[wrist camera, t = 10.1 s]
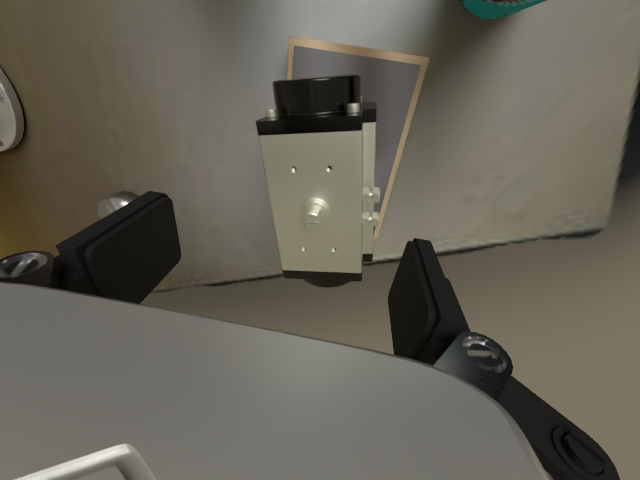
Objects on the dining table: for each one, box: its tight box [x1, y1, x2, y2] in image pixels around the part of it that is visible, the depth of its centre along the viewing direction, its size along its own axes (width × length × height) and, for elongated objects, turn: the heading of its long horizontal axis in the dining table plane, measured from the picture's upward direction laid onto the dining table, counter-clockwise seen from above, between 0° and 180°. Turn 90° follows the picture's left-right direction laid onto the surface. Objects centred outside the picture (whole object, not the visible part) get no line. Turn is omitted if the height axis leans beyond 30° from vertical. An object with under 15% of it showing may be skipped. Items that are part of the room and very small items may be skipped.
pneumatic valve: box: [256, 74, 380, 287], centre depth 18 cm, size 6×12×12 cm, turn 4°
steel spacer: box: [98, 191, 139, 219], centre depth 33 cm, size 5×5×2 cm
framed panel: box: [287, 36, 430, 239], centre depth 25 cm, size 10×15×3 cm, turn 172°
